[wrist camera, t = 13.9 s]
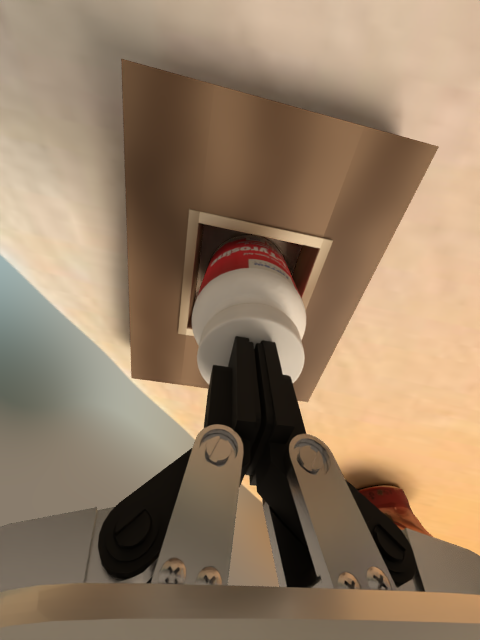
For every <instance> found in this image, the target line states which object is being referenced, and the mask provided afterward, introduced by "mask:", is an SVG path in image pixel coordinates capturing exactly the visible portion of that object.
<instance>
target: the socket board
mask: <svg viewBox="0 0 480 640" xmlns="http://www.w3.org/2000/svg"><path fill="white" fill-rule="evenodd" d="M121 61H122V92H123V124H124V155H125V187H126V218H127V249H128V281H129V312H130V343H131V375H132V378H135V379H142V380H150V381H157V382H165V383H172V384H179V385H187V386H194V387H201V388H209V384H208V383H207V382H206V381H205V380H204V378H203V377H202V375H201V373H200V371H199V368H198V363H197V352H198V348H199V345H198V344H197V342H196V339H195V337H194V334H193V330H192V312H193V308H194V301H195V293H196V285H197V277H198V269H199V261H200V252H201V244H202V236H203V228H204V224H206V225H211V226H216V227H221V228H225V229H230V230H235V231H240V232H244V233H249V234H254V235H259V236H263V237H268V238H273V239H277V240H282V241H287V242H292V243H296V244H301V245H303V246H302V249H301V252H300V255H299V258H298V261H297V264H296V267H295V270H294V273H293V276H292V278H293V281H294V283H295V285H296V287H297V289H298V292H299V294H300V296H301V298H302V301H303V304H304V307H305V312H306V328H305V332H304V335H303V338H302V340H301V341H302V345H303V349H304V357H305V359H304V366H303V369H302V371H301V374H300V375H299V377H298V378H297V380H296V381H295V382H294V383H293V387H294V390H295V394H296V398H297V401H305V402H308V401H309V399H310V397H311V395H312V393H313V391H314V389H315V387H316V385H317V383H318V381H319V379H320V377H321V375H322V373H323V371H324V369H325V367H326V365H327V363H328V362H329V360H330V358H331V356H332V354H333V352H334V350H335V348H336V346H337V344H338V342H339V340H340V338H341V336H342V334H343V332H344V330H345V328H346V326H347V325H348V323H349V321H350V319H351V317H352V315H353V313H354V311H355V309H356V307H357V305H358V303H359V301H360V299H361V297H362V295H363V293H364V291H365V289H366V288H367V286H368V284H369V282H370V280H371V278H372V276H373V274H374V272H375V270H376V268H377V266H378V264H379V262H380V260H381V258H382V256H383V254H384V252H385V250H386V249H387V247H388V245H389V243H390V241H391V239H392V237H393V235H394V233H395V231H396V229H397V227H398V225H399V223H400V221H401V219H402V217H403V215H404V213H405V212H406V210H407V208H408V206H409V204H410V202H411V200H412V198H413V196H414V194H415V192H416V190H417V188H418V186H419V184H420V182H421V180H422V178H423V176H424V175H425V173H426V171H427V169H428V167H429V165H430V163H431V161H432V159H433V157H434V155H435V153H436V151H437V149H438V146H435V145H431V144H427V143H424V142H420V141H416V140H413V139H409V138H406V137H402V136H398V135H395V134H391V133H388V132H384V131H380V130H377V129H373V128H370V127H366V126H362V125H359V124H355V123H351V122H348V121H344V120H341V119H337V118H333V117H330V116H326V115H323V114H319V113H315V112H312V111H308V110H305V109H301V108H297V107H294V106H290V105H287V104H283V103H279V102H276V101H272V100H268V99H265V98H261V97H258V96H254V95H250V94H247V93H243V92H240V91H236V90H232V89H229V88H225V87H222V86H218V85H214V84H211V83H207V82H203V81H200V80H196V79H193V78H189V77H185V76H182V75H178V74H175V73H171V72H167V71H164V70H160V69H157V68H153V67H149V66H146V65H142V64H138V63H135V62H131V61H128V60H124V59H121Z"/></svg>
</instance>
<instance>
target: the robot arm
mask: <svg viewBox="0 0 480 640" xmlns="http://www.w3.org/2000/svg"><path fill="white" fill-rule="evenodd" d="M244 475H249V476H250V485H256V486H257V492H258V494H259V495H260V496H261V497H262V498H263V499H262V501H263V509H264V514H265V519H266V524H267V528H268V533H269V538H270V543H271V547H272V553H273V558H274V562H275V567H276V572H277V577H278V582H279V587H263V586H228V577H229V569H230V560H231V552H232V544H233V535H234V527H235V518H236V510H237V502H238V494H239V487H240V485H241V482H242V480H243V477H244ZM0 640H480V556H479V555H477V554H476V553H474V552H472V551H470V550H468V549H465V548H462V547H459V546H457V545H454V544H451V543H448V542H445V541H442V540H439V539H437V538H434V537H431V536H428V535H425V534H422V533H420V532H417V531H414V530H411V529H408V528H405V529H404V530H401V529H400V528H399V527H398V526H397V525H396V524H395V523H394V522H393V521H392V520H391V519H390V518H388V517H387V516H386V515H385V514H384V513H383V512H382V511H380V510H379V509H378V508H377V507H376V506H375V505H374V504H373V503H371V502H370V501H369V500H368V499H367V498H366V497H365V496H363V495H362V494H361V493H360V492H359V491H358V490H357V489H356V488H354V487H353V486H352V485H351V484H350V483H349V482H348V481H346V480H345V479H344V477H343V475H342V473H341V470H340V468H339V466H338V464H337V462H336V460H335V458H334V456H333V454H332V452H331V451H330V449H329V448H328V446H327V445H326V444H325V443H324V442H323V441H321V440H320V439H318V438H317V437H314V436H312V435H309V434H306V431H305V427H304V424H303V420H302V416H301V413H300V409H299V405H298V401H297V398H296V394H295V390H294V387H293V383H292V379H291V377H290V376H289V375H283V373H282V368H281V364H280V360H279V356H278V351H277V347H276V343H275V342H271V341H264V340H262V341H261V343H256V345H255V348H254V344H253V342H249V338H245V337H239V336H236V337H235V340H234V344H233V348H232V352H231V356H230V360H229V365H228V367H225V366H218V365H213V367H212V372H211V377H210V383H209V389H208V396H207V405H206V413H205V422H204V429H203V430H202V431H201V432H200V433H199V434H198V435H197V437H196V439H195V442H194V445H193V448H191V449H190V450H189V451H187V452H186V453H185V454H183V455H182V456H181V457H180V458H178V459H177V460H176V461H174V462H173V463H172V464H170V465H169V466H168V467H166V468H165V469H164V470H162V471H161V472H160V473H158V474H157V475H156V476H154V477H153V478H152V479H150V480H149V481H148V482H146V483H145V484H144V485H142V486H141V487H140V488H138V489H137V490H136V491H134V492H133V493H132V494H131V495H129V496H128V497H126V498H125V499H124V500H123V501H121V502H120V503H119V504H118V505H117V506H116V507H112V508H107V509H102V510H97V507H96V508H91V509H85V510H80V511H75V512H69V513H64V514H59V515H53V516H49V517H43V518H38V519H32V520H27V521H22V522H16V523H11V524H7V525H4V526H2V527H0Z"/></svg>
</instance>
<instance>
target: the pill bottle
mask: <svg viewBox="0 0 480 640" xmlns="http://www.w3.org/2000/svg"><path fill="white" fill-rule="evenodd" d="M305 328H306V312H305V307H304V304H303V301H302V298H301V296H300V294H299V292H298V289H297V287H296V285H295V283H294V281H293V278H292V276H291V274H290V271H289V269H288V267H287V265H286V262H285V260H284V258H283V256H282V254H281V253H280V251H279V250H278V249H277V248H276V246H274V245H273V244H272V243H271V242H269V241H268V240H266V239H264V238H262V237H258V236H253V235H241V236H237V237H234V238H231V239H229V240H227V241H226V242H224V243H223V244H222V245H220V246H219V247H218V248H217V250H216V251H215V252H214V254H213V256H212V258H211V260H210V262H209V265H208V268H207V270H206V273H205V276H204V279H203V281H202V284H201V287H200V290H199V292H198V295H197V298H196V301H195V304H194V308H193V312H192V330H193V334H194V337H195V339H196V342H197V344H198V345H199V348H198V352H197V363H198V368H199V371H200V373H201V375H202V377H203V378H204V380H205V381H206V382H207V383H208V384H209V383H210V377H211V372H212V367H213V365H218V366H225V367H228V365H229V360H230V356H231V352H232V348H233V344H234V340H235V337H236V336H239V337H245V338H249V342H253V344H254V348H255V345H256V343H261V341H262V340H264V341H271V342H275V343H276V347H277V351H278V356H279V360H280V364H281V368H282V373H283V375H289V376H290V377H291V379H292V383H294V382H295V381H296V380H297V378H298V377H299V375H300V374H301V371H302V369H303V366H304V359H305V357H304V349H303V345H302V341H301V340H302V338H303V335H304V332H305Z"/></svg>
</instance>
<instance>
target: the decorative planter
mask: <svg viewBox="0 0 480 640" xmlns="http://www.w3.org/2000/svg"><path fill="white" fill-rule="evenodd" d="M358 491H359V492H360V493H361V494H362V495H363V496H365V497H366V498H367V499H368V500H369V501H370V502H371V503H373V504H374V505H375V506H376V507H377V508H378V509H379V510H380V511H382V512H383V513H384V514H385V515H386V516H387V517H388V518H390V519H391V520H392V521H393V522H394V523H395V524H396V525H397V526H398V527H399V528H400V529H401V530H404V529H405V528H408V529H411V530H414V531H417V532H420V533H422V534H425V535H428V536H431V535H430V534H429V533H428V532H427V531H426V530H425V529H424V527H423V526H422V525H421V523H420V522H419V520H418V519H417V518H416V517H415V515H414V514H413V512H412V510H411V508H410V506H409V502H408V500H407V498H406V496H405V494H404V491H403V490H402V489H400V488H397V487H394V486H375V487H370V488H365V489H361V490H358ZM431 537H433V536H431Z"/></svg>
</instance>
